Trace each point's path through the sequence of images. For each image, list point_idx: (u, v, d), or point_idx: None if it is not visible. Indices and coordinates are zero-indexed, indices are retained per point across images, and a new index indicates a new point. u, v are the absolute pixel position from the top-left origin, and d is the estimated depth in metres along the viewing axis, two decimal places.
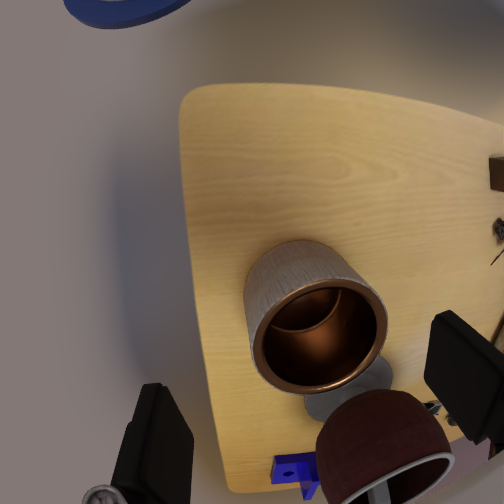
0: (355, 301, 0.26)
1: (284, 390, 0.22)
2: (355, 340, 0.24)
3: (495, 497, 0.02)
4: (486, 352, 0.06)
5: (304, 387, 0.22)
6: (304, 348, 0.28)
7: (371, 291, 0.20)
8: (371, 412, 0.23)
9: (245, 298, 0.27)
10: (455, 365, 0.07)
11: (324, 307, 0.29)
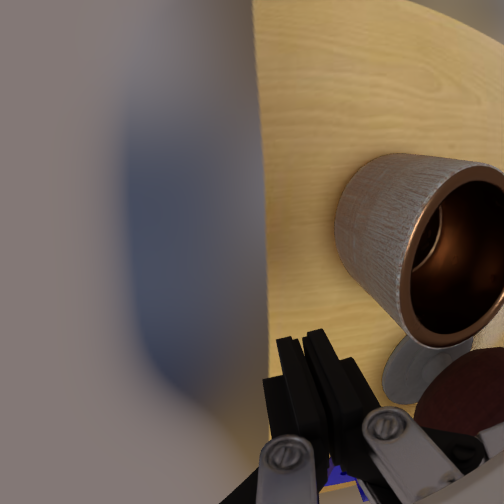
0: (471, 227, 0.17)
1: (422, 342, 0.14)
2: (479, 274, 0.16)
3: (495, 497, 0.02)
4: (333, 380, 0.07)
5: (442, 336, 0.14)
6: (412, 294, 0.19)
7: None
8: (492, 371, 0.15)
9: (347, 219, 0.18)
10: (315, 386, 0.08)
11: (425, 243, 0.21)
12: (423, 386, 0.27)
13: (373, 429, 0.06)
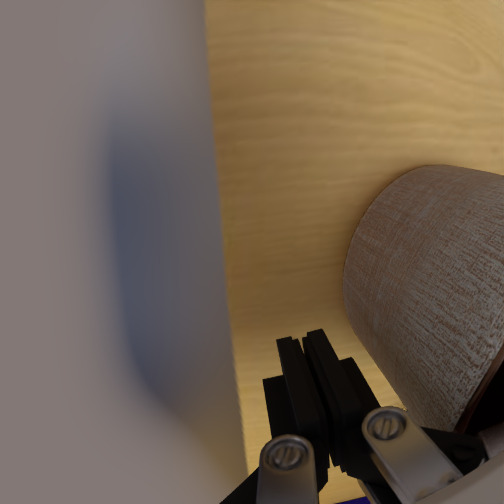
0: None
1: None
2: None
3: (495, 497, 0.02)
4: (332, 380, 0.07)
5: None
6: None
7: None
8: None
9: (365, 279, 0.11)
10: None
11: None
12: None
13: (374, 429, 0.06)
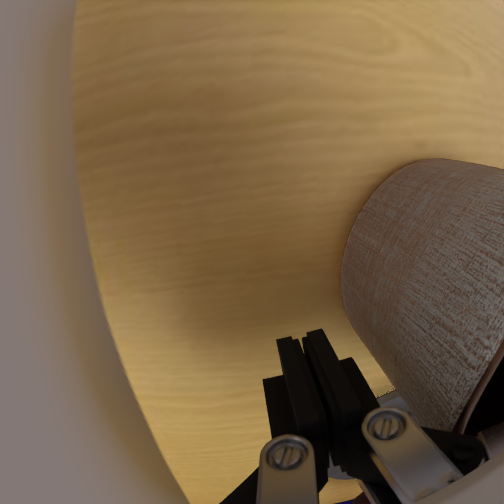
0: None
1: None
2: None
3: (495, 497, 0.02)
4: (332, 380, 0.07)
5: None
6: None
7: None
8: None
9: (362, 279, 0.11)
10: None
11: None
12: None
13: (374, 429, 0.06)
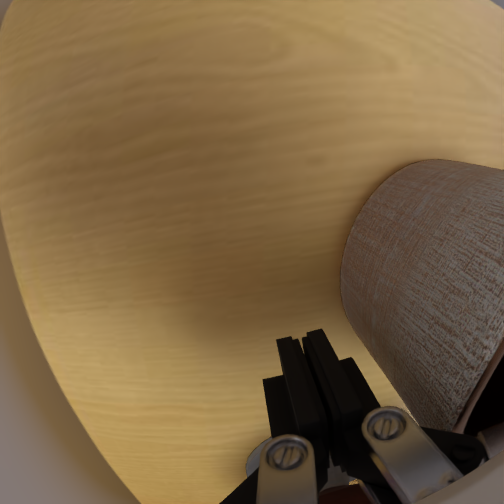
0: None
1: None
2: None
3: (495, 497, 0.02)
4: (332, 380, 0.07)
5: None
6: None
7: None
8: None
9: (362, 279, 0.11)
10: (315, 386, 0.08)
11: None
12: None
13: (373, 429, 0.06)
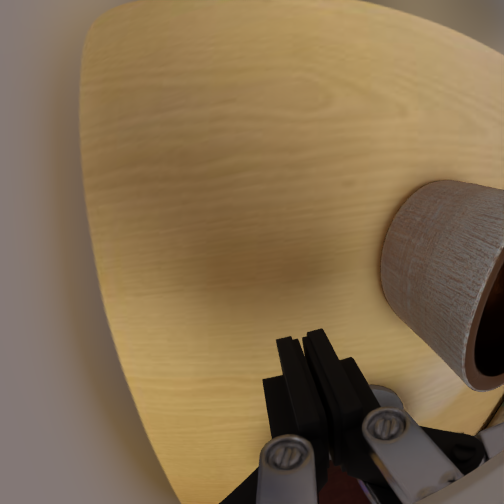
0: None
1: (478, 388, 0.11)
2: None
3: (495, 497, 0.02)
4: (333, 380, 0.07)
5: (495, 378, 0.11)
6: None
7: None
8: None
9: (399, 262, 0.16)
10: (315, 386, 0.08)
11: None
12: None
13: (373, 429, 0.06)
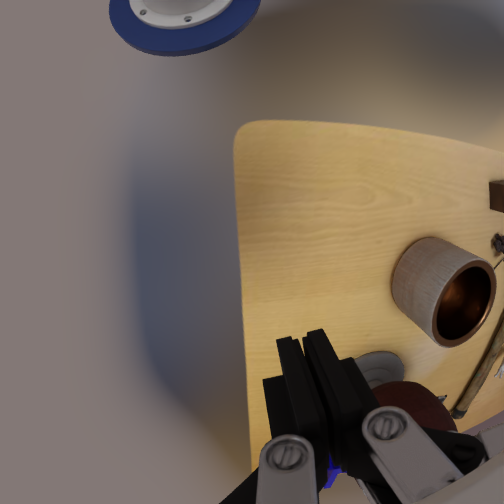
0: (467, 278, 0.31)
1: (441, 344, 0.27)
2: (471, 305, 0.29)
3: (495, 497, 0.02)
4: (333, 380, 0.07)
5: (451, 341, 0.27)
6: None
7: (491, 267, 0.25)
8: (391, 399, 0.28)
9: (402, 283, 0.32)
10: (315, 386, 0.08)
11: None
12: None
13: (374, 429, 0.06)
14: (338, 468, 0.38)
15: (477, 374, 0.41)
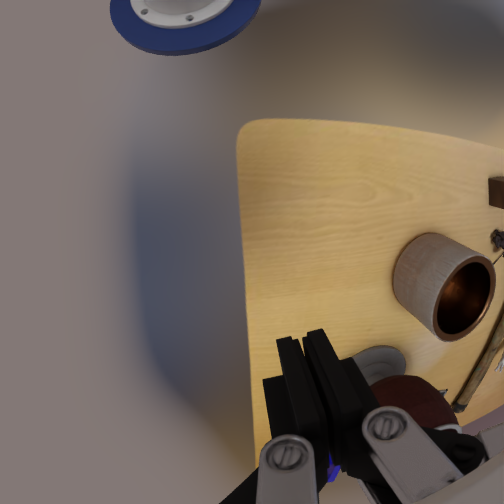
0: (467, 273, 0.31)
1: (442, 339, 0.28)
2: (471, 300, 0.30)
3: (495, 497, 0.02)
4: (332, 380, 0.07)
5: (451, 335, 0.28)
6: None
7: (490, 262, 0.25)
8: (393, 392, 0.29)
9: (403, 278, 0.32)
10: (315, 386, 0.08)
11: None
12: None
13: (374, 429, 0.06)
14: None
15: (477, 368, 0.42)
